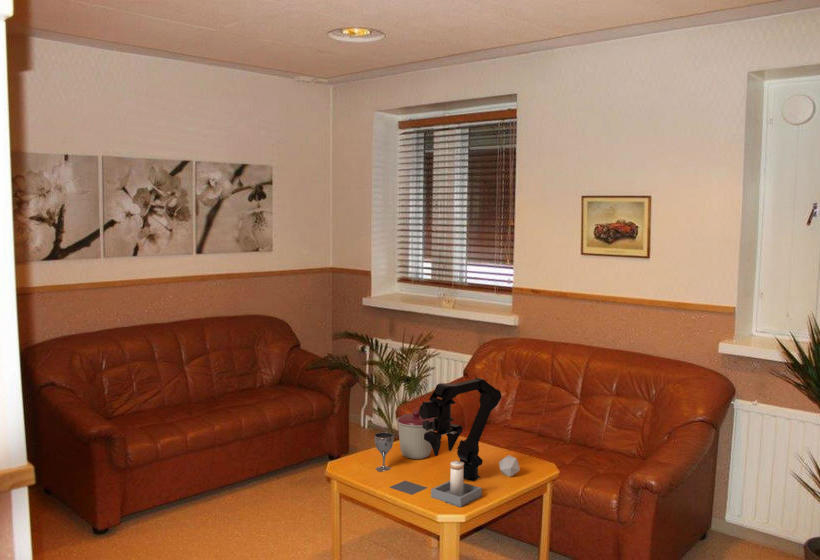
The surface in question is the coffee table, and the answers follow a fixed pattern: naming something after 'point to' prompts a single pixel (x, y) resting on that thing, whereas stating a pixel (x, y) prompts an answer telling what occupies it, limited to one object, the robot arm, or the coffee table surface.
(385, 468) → the wine glass
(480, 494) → the bin
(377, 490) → the coffee table surface
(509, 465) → the die
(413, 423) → the canister
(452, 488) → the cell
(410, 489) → the mat
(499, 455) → the coffee table surface
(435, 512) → the coffee table surface
